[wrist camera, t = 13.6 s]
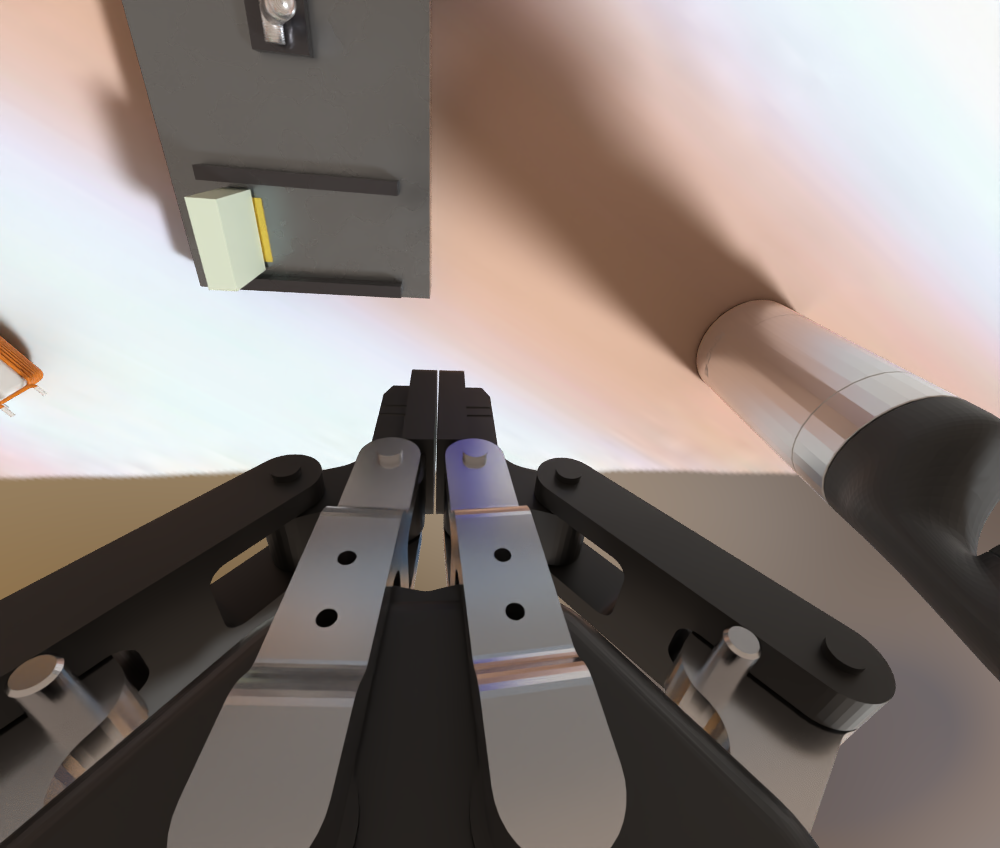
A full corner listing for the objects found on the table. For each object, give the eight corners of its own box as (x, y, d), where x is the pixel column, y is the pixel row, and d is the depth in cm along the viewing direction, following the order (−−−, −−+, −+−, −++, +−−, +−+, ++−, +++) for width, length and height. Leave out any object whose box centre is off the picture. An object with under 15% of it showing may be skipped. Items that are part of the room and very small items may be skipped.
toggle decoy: (277, -15, 23) (294, -34, 20) (286, 45, 24) (302, 36, 21) (251, -21, 22) (264, -42, 19) (261, 41, 24) (274, 32, 20)
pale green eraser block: (250, 189, 28) (216, 199, 24) (265, 269, 31) (237, 291, 27) (223, 187, 28) (184, 197, 24) (241, 268, 31) (209, 289, 27)
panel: (431, -389, 20) (426, -544, 15) (431, 286, 36) (428, 309, 32) (27, -488, 18) (-118, -700, 13) (219, 274, 34) (183, 297, 30)
